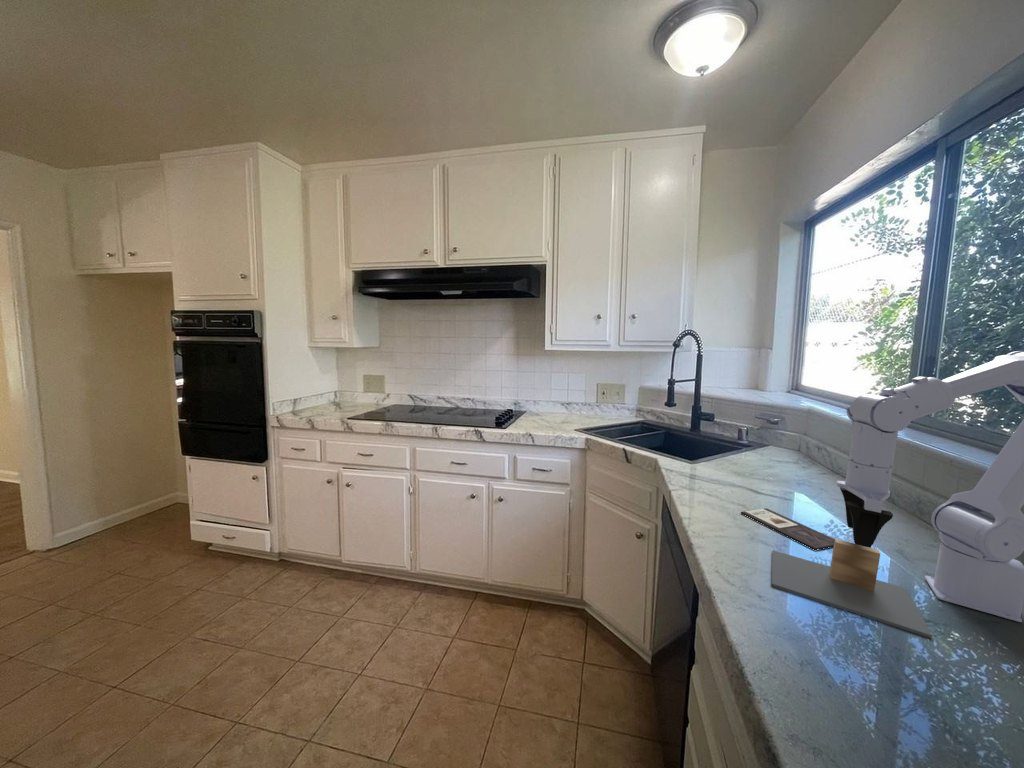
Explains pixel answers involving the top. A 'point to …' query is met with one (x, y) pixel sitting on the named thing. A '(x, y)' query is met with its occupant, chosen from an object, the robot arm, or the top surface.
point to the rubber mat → (847, 593)
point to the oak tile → (854, 564)
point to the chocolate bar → (791, 528)
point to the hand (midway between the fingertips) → (858, 536)
